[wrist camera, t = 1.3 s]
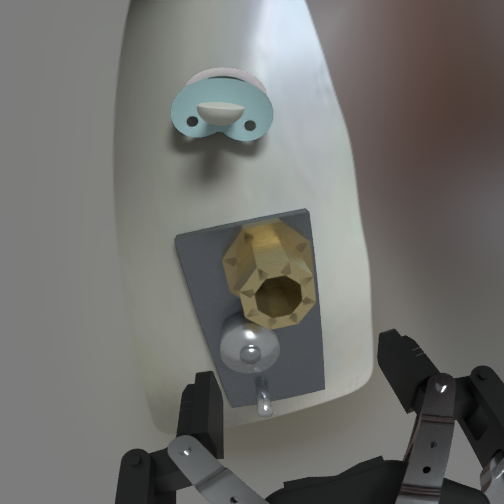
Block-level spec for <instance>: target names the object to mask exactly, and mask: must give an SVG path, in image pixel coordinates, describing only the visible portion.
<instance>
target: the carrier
mask: <svg viewBox="0 0 504 504" xmlns="http://www.w3.org/2000/svg"><path fill="white" fill-rule="evenodd" d="M274 218H279V219H281V220H282V221H284V222H285V223H287V224H288V225H290V226H291V227H293V228H294V229H296V230H297V231H299V232H300V233H302V234H303V235H305V236H306V237H307V238H308V239H309V241H310V244H311V252H312V261H313V270H314V275H313V277H314V286H315V296H316V303H315V304H314V306H313V307H312V308H311V309H310V310H309V312H308V313H307V314H306V315H305V316H304V317H303V319H302V320H301V321H300V322H299V323H298V324H295V325H290V326H286V327H281V328H277V329H272V330H269V329H267V328H265V327H263V326H261V325H259V324H257V323H255V322H253V321H251V320H249V319H247V318H245V314H244V310H243V306H242V302H241V298H240V297H238V296H236V295H234V294H233V293H231V292H230V290H229V286H228V282H227V278H226V274H225V270H224V267H223V263H222V254H223V252H224V251H225V249H226V248H227V246H228V245H229V243H230V242H231V240H232V239H233V237H234V236H235V234H236V233H237V231H238V230H239V229H240V227H241V226H242V225H244V224H249V223H254V222H259V221H264V220H269V219H274ZM174 240H175V244H176V247H177V251H178V254H179V257H180V261H181V264H182V267H183V271H184V274H185V277H186V280H187V284H188V287H189V290H190V293H191V296H192V299H193V302H194V305H195V308H196V311H197V314H198V317H199V320H200V323H201V326H202V329H203V332H204V335H205V337H206V340H207V343H208V346H209V349H210V351H211V354H212V357H213V359H214V362H215V365H216V367H217V370H218V373H219V375H220V378H221V381H222V383H223V386H224V388H225V391H226V393H227V396H228V398H229V401H230V403H231V406H232V408H234V407H241V406H247V405H254V404H257V405H258V413H259V416H260V417H262V418H267V417H270V416H271V415H272V414H273V412H272V406H271V401H275V400H280V399H285V398H290V397H295V396H299V395H303V394H308V393H312V392H316V391H320V390H324V389H325V379H324V359H323V343H322V329H321V316H320V304H319V293H318V282H317V273H316V263H315V254H314V246H313V238H312V230H311V222H310V214H309V211H308V210H307V209H306V208H305V209H300V210H295V211H289V212H284V213H279V214H274V215H269V216H264V217H259V218H254V219H249V220H244V221H239V222H234V223H230V224H225V225H220V226H215V227H211V228H206V229H202V230H197V231H192V232H188V233H184V234H179V235H177V236H176V237H175V239H174Z"/></svg>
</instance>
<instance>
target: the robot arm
mask: <svg viewBox="0 0 504 504" xmlns="http://www.w3.org/2000/svg"><path fill="white" fill-rule="evenodd" d="M377 359H378V364H379V366H380V368H381V370H382V372H383V373H384V375H385V377H386V378H387V380H388V382H389V383H390V385H391V387H392V389H393V390H394V392H395V394H396V395H397V397H398V399H399V401H400V402H401V404H402V406H403V408H404V409H405V411H406V413H407V414H408V413H410V412H413V411H415V412H416V414H417V416H416V418H415V422H414V426H413V430H412V433H411V437H410V441H409V444H408V447H407V450H406V453H405V455H404V458H403V460H402V461H399V460H385V461H384V460H383V457H382V456H379V457H376V458H373V459H370V460H367V461H364V462H361V463H359V464H357V465H355V466H353V467H352V468H350V469H348V470H346V471H345V472H342V473H341V474H339V475H336V476H328V477H307V478H302V479H297V480H292V481H287V482H283V483H284V488H282V489H279V490H277V491H275V492H274V493H272V494H271V495H269V496H268V497H267V498H265V499H263V498H262V497H261V496H259V495H258V494H257V493H256V492H255V491H253V490H252V489H251V488H250V487H249V486H247V485H246V484H245V483H244V482H243V481H242V480H241V479H240V478H238V477H237V476H236V475H235V474H234V473H233V472H232V471H231V470H229V469H228V468H225V467H224V466H223V465H222V464H221V463H220V462H219V461H218V460H217V459H223V458H224V449H223V398H222V393H221V390H220V388H219V385H218V383H217V380H216V378H215V375H214V373H213V371H206V372H199V373H196V378H195V384H188V385H187V386H186V388H185V390H184V391H183V393H182V399H181V406H180V413H179V420H178V428H177V435H176V438H175V439H173V440H172V441H171V442H170V444H169V446H168V447H167V448H165V449H163V450H159V451H156V452H152V453H149V454H148V453H147V452H146V451H144V450H142V449H132V450H130V451H128V452H127V453H126V454H125V455H124V456H123V458H122V460H121V466H120V472H119V478H118V485H117V492H116V499H115V504H176V490H179V489H182V488H186V487H189V486H192V485H194V486H195V488H196V489H197V490H198V491H199V493H200V494H201V495H202V496H203V497H204V498H205V499H206V500H207V501H208V502H209V503H210V504H504V383H503V382H502V381H501V379H500V378H499V377H498V375H497V374H496V373H495V372H494V370H493V369H491V368H490V367H488V366H478V367H476V368H474V369H473V370H472V372H471V374H470V376H466V377H460V378H453V377H452V376H451V375H449V374H447V373H440V372H439V371H438V369H437V368H436V367H435V366H434V364H433V363H432V362H431V360H430V359H429V358H428V357H427V355H426V354H424V352H423V350H422V349H421V348H420V347H419V345H418V344H417V343H416V342H415V340H413V339H411V338H410V337H408V336H406V335H405V336H402V337H401V336H400V334H399V333H398V332H397V331H396V329H391V330H388V331H385V332H382V333H380V334H379V344H378V355H377ZM454 420H457V421H458V422H459V424H460V426H461V428H462V430H463V431H464V433H465V435H466V437H467V439H468V440H469V442H470V444H471V446H472V448H473V450H474V452H475V454H476V456H477V458H478V460H479V462H480V464H481V466H482V467H483V470H482V472H481V474H480V486H481V491H480V490H477V489H475V488H471V487H469V486H466V485H463V484H460V483H457V482H455V481H452V480H449V479H447V478H444V475H445V471H446V467H447V462H448V458H449V453H450V448H451V443H452V437H453V431H454V425H455V421H454Z"/></svg>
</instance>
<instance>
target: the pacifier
mask: <svg viewBox="0 0 504 504" xmlns="http://www.w3.org/2000/svg"><path fill="white" fill-rule="evenodd" d="M229 78H232V79H229ZM192 116H194V117H196V118H197V119H198V124H197V125H196V126H194V127H190V126H188V124H187V119H188V118H189V117H192ZM171 118H172V121H173V123H174V125H175V127H176V128H177V129H178V130H179V131H180V132H181V133H183V134H184V135H187V136H190V137H206V136H209V135H212V134H214V133H216V132H223V133H224V134H225V135H227V136H229V137H230V138H233V139H235V140H240V141H251V140H255V139H257V138H259V137H261V136H263V135H264V134H265V133H266V132H267V131H268V130H269V128H270V126H271V124H272V121H273V108H272V104H271V102H270V100H269V98H268V97H267V95H266V89H265V88H264V86H263V84H262V83H261V82H260V81H259V80H258V79H257V78H256V77H255V76H253V75H251V74H249V73H247V72H245V71H242V70H239V69H233V68H213V69H208V70H205V71H202V72H200V73H197V74H196V75H194V76H193V77H191V78H190V79H189V81H188V82H187V83H186V84H185V87H184V88H183V89H182V90H181V91H180V92H179V94H178V95H177V96H176V98H175V100H174V101H173V104H172V108H171ZM247 121H253V122H254V123H255V124H256V127H255V129H254V130H253V131H247V130H246V129H245V127H244V124H245V122H247Z"/></svg>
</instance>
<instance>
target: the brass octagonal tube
mask: <svg viewBox="0 0 504 504" xmlns="http://www.w3.org/2000/svg"><path fill="white" fill-rule="evenodd" d="M222 263H223V267H224V270H225V274H226V278H227V282H228V286H229V290H230V292H231V293H233V294H234V295H236V296H238V297H240V298H241V302H242V306H243V310H244V314H245V318H247V319H249V320H251V321H253V322H255V323H257V324H259V325H261V326H263V327H265V328H267V329H269V330H272V329H277V328H281V327H286V326H290V325H295V324H298V323H299V322H300V321H301V320H302V319H303V317H304V316H305V315H306V314H307V313H308V312H309V310H310V309H311V308H312V307H313V306H314V304H315V303H316V296H315V286H314V277H313V275H314V270H313V261H312V252H311V244H310V241H309V239H308V238H307V237H306V236H305V235H303V234H302V233H300V232H299V231H297V230H296V229H294V228H293V227H291V226H290V225H288V224H287V223H285V222H284V221H282V220H281V219H279V218H274V219H269V220H264V221H259V222H254V223H249V224H244V225H242V226H241V227H240V229H239V230H238V231H237V233H236V234H235V236H234V237H233V239H232V240H231V242H230V243H229V245H228V246H227V248H226V249H225V251H224V252H223V254H222Z"/></svg>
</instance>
